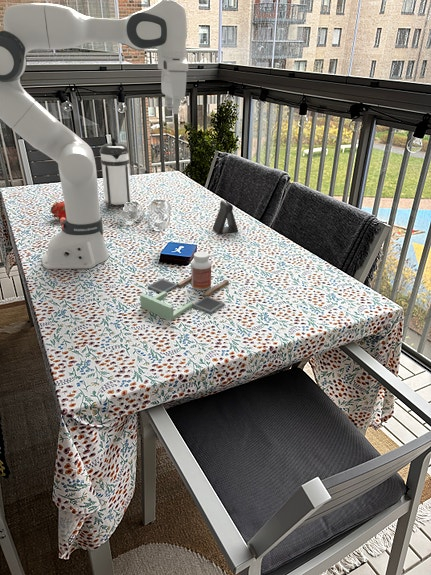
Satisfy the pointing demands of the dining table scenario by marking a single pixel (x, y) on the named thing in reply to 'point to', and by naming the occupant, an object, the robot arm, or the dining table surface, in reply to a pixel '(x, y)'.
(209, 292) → the walnut track
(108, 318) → the dining table surface
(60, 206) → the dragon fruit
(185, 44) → the robot arm
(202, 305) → the trap pits
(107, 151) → the coffee press
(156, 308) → the light green u-shaped piece
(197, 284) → the pill bottle
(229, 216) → the phone stand
